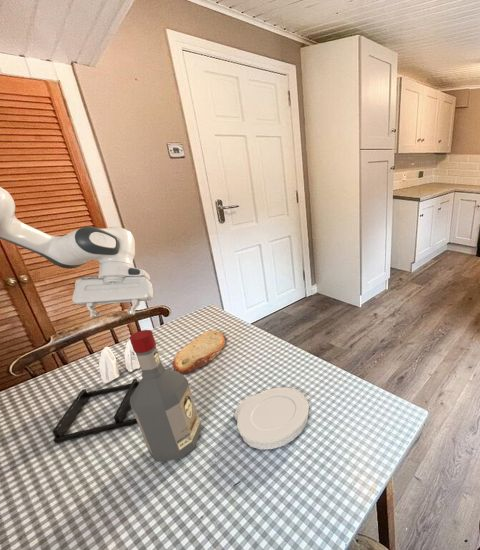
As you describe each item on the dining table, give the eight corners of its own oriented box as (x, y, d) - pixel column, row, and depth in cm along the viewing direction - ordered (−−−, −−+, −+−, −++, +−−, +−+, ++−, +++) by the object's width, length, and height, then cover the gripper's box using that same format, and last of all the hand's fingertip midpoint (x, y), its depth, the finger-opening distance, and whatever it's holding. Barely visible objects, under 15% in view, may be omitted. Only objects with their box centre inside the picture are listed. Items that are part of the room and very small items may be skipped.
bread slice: (219, 332, 115) (217, 323, 113) (237, 353, 103) (235, 344, 101) (164, 351, 104) (161, 342, 102) (177, 378, 91) (174, 368, 90)
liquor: (146, 465, 66) (99, 351, 55) (165, 430, 74) (128, 324, 63) (191, 458, 67) (154, 346, 56) (205, 425, 76) (175, 320, 64)
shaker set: (107, 389, 87) (93, 357, 83) (97, 385, 89) (84, 354, 85) (147, 363, 98) (137, 334, 94) (139, 361, 99) (128, 332, 95)
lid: (265, 384, 88) (264, 376, 87) (322, 408, 80) (322, 399, 79) (215, 430, 74) (212, 421, 73) (278, 464, 66) (276, 454, 65)
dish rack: (55, 443, 71) (49, 434, 70) (87, 395, 85) (83, 387, 84) (148, 421, 77) (144, 412, 76) (163, 379, 91) (161, 371, 90)
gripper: (70, 273, 93) (64, 317, 89) (149, 269, 100) (147, 310, 96) (81, 280, 98) (76, 321, 94) (155, 276, 105) (153, 314, 101)
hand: (112, 316), depth 95 cm, fingers open, 8 cm apart
